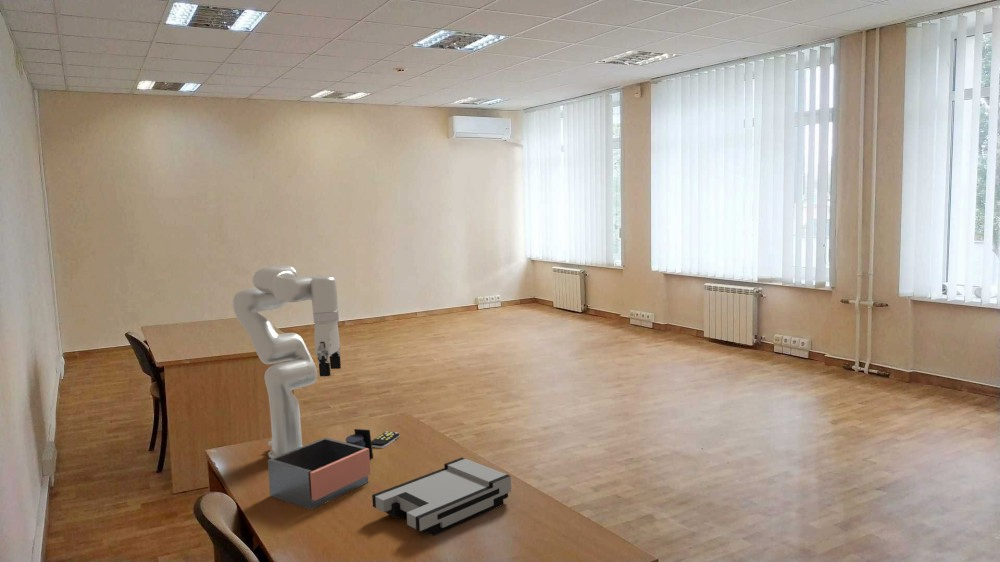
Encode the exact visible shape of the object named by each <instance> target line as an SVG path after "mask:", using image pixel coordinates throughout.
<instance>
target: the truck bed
mask: <svg viewBox="0 0 1000 562" xmlns="http://www.w3.org/2000/svg"><path fill="white" fill-rule="evenodd" d="M365 448H366V447H362V446H358V445H354V444H350V443H346V441H341V440H337V439H332V438H329V437H324V438H321V439H318V440H316V441H313V442H311V443H308V444H305V445H303V446H302V447H300V448H297V449H295V450H292V451H290V452H287V453H285V454H282V455H279V456H277V457H274V458H272V459H270V458H269V459H268V460H267V468H268V469H267V470H268V481H269V483H268V484H269V496H270V497H271V498H272V497H273V498H276V499H278V500H281V501H284V502H286V503H290V504H293V505H296V506H298V507H301V506H302V507H301V508H304V507H306V508H305V509H307V508H309V509H308V510H310V509H313V508H315V507H317V506H319V507H321V506H323V505H325V504H326V503H325V502H327V501H329V500H331V501H333V500H335V499H337V498H339V497H341V496H344V495H345V493H346V494H347V492H348V491H350V492H351V490H352V491H353V489H354V490H356V489H358V488H360V487H362V486H363V485H366V484H368V483H369V475H368V476H366V477H364V478H361V479H359V480H357V481H355V482H353V483H351V484H349V485H347V486H345V487H343V488H340V489H338V490H336V491H334V492H332V493H330V494H328V495H326V496H324V497H322V498H319V499H317V500H315V501H314V500H312V493H311V478H310V472H312V471H314V470H316V469H319V468H321V467H323V466H326V465H328V464H330V463H333V462H335V461H337V460H340V459H342V458H344V457H347V456H349V455H351V454H354V453H356V452H358V451H360V450H363V449H365ZM359 486H360V487H359ZM357 487H358V488H357ZM355 488H356V489H355ZM348 493H349V492H348ZM343 494H344V495H343ZM338 496H339V497H338ZM336 497H337V498H336ZM334 498H335V499H334ZM332 499H333V500H332ZM329 502H330V501H329ZM324 503H325V504H324ZM327 503H328V502H327ZM322 504H323V505H322ZM320 505H321V506H320ZM317 508H318V507H317ZM315 509H316V508H315ZM313 510H314V509H313Z"/></svg>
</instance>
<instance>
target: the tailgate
mask: <svg viewBox="0 0 1000 562" xmlns="http://www.w3.org/2000/svg"><path fill="white" fill-rule="evenodd" d="M370 460H371V458H370V456H369V449H368V448H365V449H363V450H360V451H358V452H356V453H354V454H351V455H349V456H347V457H344V458H342V459H340V460H337V461H335V462H333V463H330V464H328V465H326V466H323V467H321V468H319V469H316V470H314V471H312V472H310V478H311V493H312V500H314V501H315V500H317V499H319V498H322V497H324V496H326V495H328V494H330V493H332V492H334V491H336V490H338V489H340V488H343V487H345V486H347V485H349V484H351V483H353V482H355V481H357V480H359V479H361V478H364V477H366V476H368V477H369V476H370V475H371V461H370Z"/></svg>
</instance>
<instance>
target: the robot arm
mask: <svg viewBox="0 0 1000 562" xmlns="http://www.w3.org/2000/svg"><path fill="white" fill-rule="evenodd" d="M252 283H253V285H254V287H249V288H245V289H241V290H239V291H237V292H236V293H235V294H234V296H233V299H232V307H233V312H234V314H235V317H236V319H237V321H238V322H239V324H240V325H241V326H242V328H244V330H245V331H246V333H247V334H248V337H249V339H250V342H251V344H252V346H253V348H254V350H255V352H256V354H257V356H258V358H259V360H260V361H261V362H262V363H263V364H265V365H270V366H269V367H268V368H267V369H266V370H265V372H264V382H265V386H266V391H267V396H268V402H269V411H270V425H271V427H270V428H271V439H270V441H268V442H267V445H268V446H270V447H271V450H270V451H268V458H269V459H272V458H274V457H277V456H279V455H282V454H285V453H287V452H290V451H292V450H295V449H297V448H300V447H302V446H304V445H303V440H302V439H303V438H302V427H301V426H302V424H301V423H302V422H301V412H300V411H301V410H300V402H299V399H298V398H297V397H296V395H295V394H294V393H293V392H292V391H293V390H295V389H301V388H304V387H307V386H311V385H312V384H315V382H316V381H317V379H318V372H319V376H320V377H330V376H331V375H332V374H331V370H335V369H337V370H338V369H339V370H340V369H341V368H342V365H341V364H342V363H341V351H340V349H341V346H340V345H341V343H340V342H341V341H340V333H339V331H340V330H339V326H338V325H339V324H338V322H339V321H340V317H339V305H338V291H337V281H336V278H335V277H333V276H329V275H328V276H327V275H326V276H324V275H320V274H313V275H303V276H298V272H297V271H296V269H295V268H294V267H293V266H291V265H287V264H283V265H282V264H281V265H274V266H264V267H261V268H259V269H257V270H256V271H255V272H254V274H253V276H252ZM305 301H311V304H312V306H311V307H312V316H313V317H312V319H313V324H314V336H313V337H314V355H315V356H316V357H317V362H318V363H317V364H318V369H317V367H316V364H315V362H314V360H313V358H312V355H311V353H310V351H309V349H308V347H307V345H306V343H305V341H304V339H303V338H302V336H301V335H299V334H297V333H296V332H286V333H280V334H279V333H277V331H276V329H275V327H274V326H273V324H272V322H271V321H270V320H269V319H267V318H266V317H265V316H264V315H262V314H261V313H259V312H265V311H272V310H278V309H281V308H283V307H284V306H285V305H287V303H298V302H305Z"/></svg>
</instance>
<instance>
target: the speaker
mask: <svg viewBox="0 0 1000 562" xmlns="http://www.w3.org/2000/svg"><path fill="white" fill-rule="evenodd" d="M371 441H372V438H371V430H370V429H362V428H360V429H359V428H354V434H350V435H349V436H347V437H346V438H345V442H346V443H350V444H354V445H358V446H362V447H366V448H368V449H369V456H370V459H373V458H374V452H373V447H372V444H371Z"/></svg>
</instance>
